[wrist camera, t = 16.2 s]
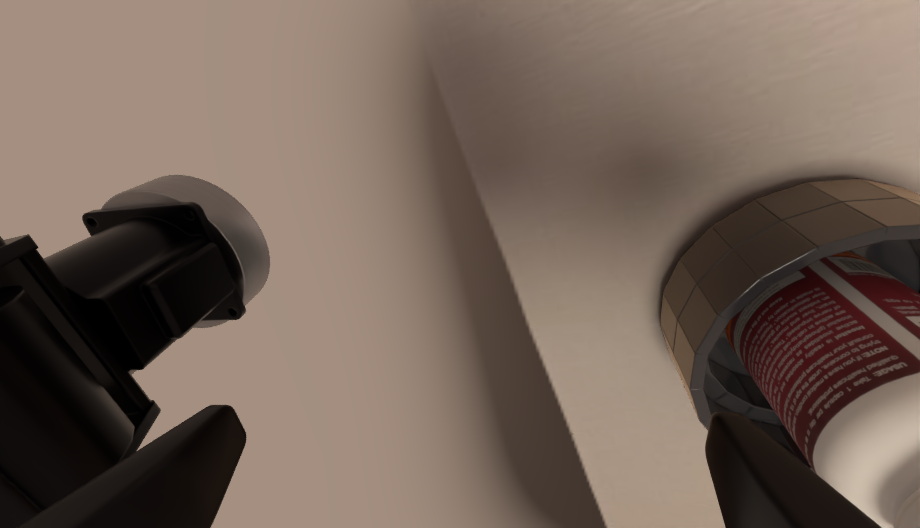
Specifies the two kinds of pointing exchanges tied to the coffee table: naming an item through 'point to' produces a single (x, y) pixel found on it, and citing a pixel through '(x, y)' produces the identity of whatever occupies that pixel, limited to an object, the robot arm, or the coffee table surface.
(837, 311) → the pill bottle
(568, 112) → the coffee table surface
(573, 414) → the coffee table surface
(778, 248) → the dish
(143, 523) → the robot arm
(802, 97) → the coffee table surface
